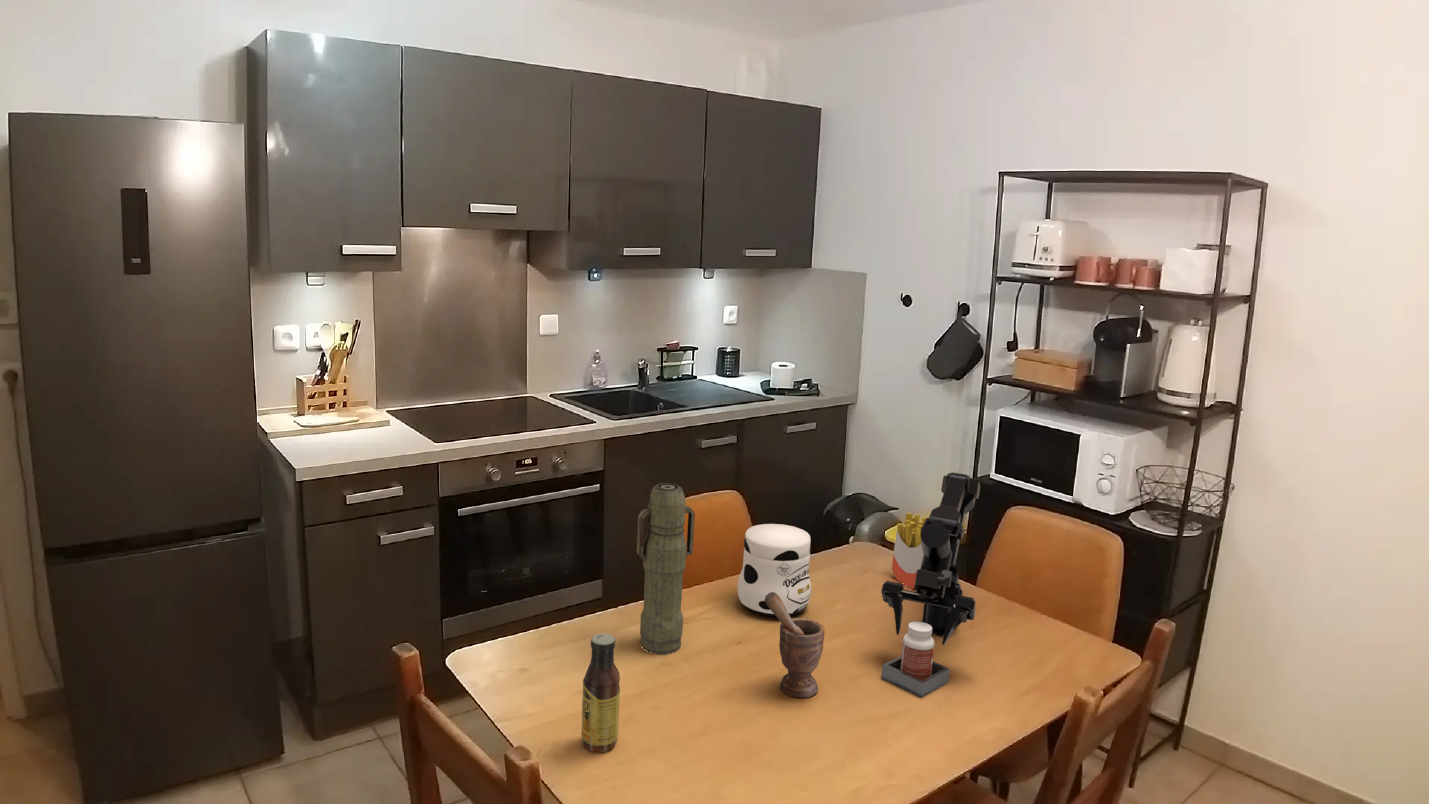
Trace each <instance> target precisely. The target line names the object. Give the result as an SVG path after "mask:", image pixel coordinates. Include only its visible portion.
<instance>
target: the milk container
mask: <svg viewBox="0 0 1429 804" xmlns="http://www.w3.org/2000/svg"><path fill="white" fill-rule="evenodd" d="M743 541H744V542H743V556H742V557H743V558H742V560H743V561H742V568H741V570H740V574H739V577H738V581H737V595H738V600H739V601H740V603H741V604H742V605H743V606H744V607H745V608H747V609H748V610H750V611H752V612H754V613H757V614H761V615H763V616H771V617H772V616H773V617H776V615H775V614H774V613H773V612H772V611H771V610H770V608H769V607H768V606H767V604H766V603H765V596H766V595H767V594H768V593H770V592H775V593H776V594H777V595H778V596H779V597H780V599H781V600H782V602H783V604H784V606H785V608H786V610H787V612H788V614H789V616H792V615H795V614H798V613H800V612H802V611H804V610H805V609H806V608H807V607H808V605H809V602H810V598H811V594H812V583H811V580H810V573H809V572H810V571H809V570H810V569H809V568H810V561H811V559H810V558H811V549H812V547H811V546H812V544H811V535H810V534H809V533H808V532H807V531H806V530H804V529H801V528H799V527H797V526H793V525H787V524H780V523H779V524H777V523H763V524H757V525H753V526H751V527H749V528H748V529H747V530H746V532H745V535H744V539H743Z"/></svg>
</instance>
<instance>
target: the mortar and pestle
mask: <svg viewBox="0 0 1429 804" xmlns="http://www.w3.org/2000/svg"><path fill="white" fill-rule="evenodd" d="M765 603H766V604H767V606H768V607H769V608H770V610H771V611H772V612H773V613H774V614H775V615H776V616H775V617H776V618H777V620H778V621H779V622H780V625H779V626H780V627H779V645H778V647H779V654H780V657H781V663H782V665H783V667H784V668H785V669H787V673H786V674H785V675H783V677H782V678H781V680H780V682H779V687H780V690H781V692H782V693H784V694H785V695H787V696H789V697H794V698H810V697H813V696H814V695H815V694H817V693H818V692H819V687H818V682H817V680H816V679H815V678H814V676H812V673H813V672H814V671H815V670H816V669H817V668H818V666H819V664H820V659H821V657H822V653H823V650H824V640H825V626H824V625H823V624H821V622H818V621H816V620H814V619H809V618H805V617H804V618H803V617H795V618H794V617H791V615H789V614H788V612H787V610H786V608H785V606H784V604H783V602H782V600H781V599H780V597H779V596H778V595H777V594H776V593H775V592H770V593H768V594H767V595H766V596H765Z"/></svg>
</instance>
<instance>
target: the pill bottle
mask: <svg viewBox="0 0 1429 804" xmlns="http://www.w3.org/2000/svg"><path fill="white" fill-rule="evenodd" d="M932 634H933V632H932V626H931V625H929V624H927V623H924V622H922V621H911V622H909V623H908V627H907V632H906V633H905V635H904V636H903V639H902V649H901V655H902V657H901V668H900V671H902V672H904V673H906V674H909V675H911V676H913V677H915V678H917V679H919V680H921V681H922V680H924V679H926V678H928V677H930V676H931V674H932V664H933V662H934V652H935V639H934V638H933V637H932Z"/></svg>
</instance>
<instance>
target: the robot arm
mask: <svg viewBox="0 0 1429 804" xmlns="http://www.w3.org/2000/svg"><path fill="white" fill-rule="evenodd" d="M940 489H941V490H940V491H941V493H942V498H941V501H940V504H939V506H937V507H934V508H932V510H931V511H930V514H929V516H928V517H925V518H926V520H925V522H924V524H923V526H922V529H921V535H920V537H921V544H922V550H923V553H924V555H923V559H922V564H921V569H920V570H919V569H917V573H916V579H915V585H914V589H913V590H915V591H911V590H906V589H905V588H904V585H903V584H902V583H900V582H895V581H890V580H886V581H884V582H883V583H882V586H881V592H880V593H881V596H882V600H883V602H884V603H886V604H887V605H888V607H889V608H892V609H893V614H894V621H895V622H894V623H895V631H896V635H897V636H899V635H900V631H901V628H902V627H901V626H902V620H903V619H902V618H903V609H904V608H903V602H904V600H905V601H908V602H909V601H910V602H914V603H919V604H923V609H922V610H923V611H922V620H921V622H924V623H927V624H929V625H931V626H932V634H936V635H937V636H941V637H942V643H941V644H942V645H943V646H945V645H946V644H947V642H948V640H949V639H950V638H951V636H952V634H953V633H954V631H955V630H957V628H958V627H959V626H960V625H961V624H962V623H964V624H965V623H967V622H968V621H974V620H975V614H976V609H977V608H976V607H977V605H976V600H975V599H974V597H970V596H967V595H963V590H962V587H961V583H959V581H960V580H959V572H958V568H957V565H956V561H957V556H958V552H959V547H960V541H961V540H962V539H963V537H964V535H965V529H964V523H965V518H966V515H967V514H968V513H969V512H970V511H972V510H973V509H974V507H975V503H976V499H977V500H978V499H979V496H980V491H981V483H980V481H979V480H976V479H975V478H972V477H971V476H970V475H968V474H964V473H959V472H948V473H947V474H945V475H943V477H942V482H941V488H940Z"/></svg>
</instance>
